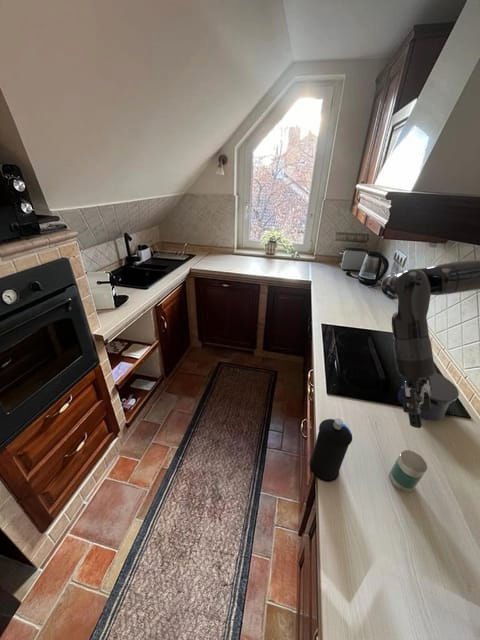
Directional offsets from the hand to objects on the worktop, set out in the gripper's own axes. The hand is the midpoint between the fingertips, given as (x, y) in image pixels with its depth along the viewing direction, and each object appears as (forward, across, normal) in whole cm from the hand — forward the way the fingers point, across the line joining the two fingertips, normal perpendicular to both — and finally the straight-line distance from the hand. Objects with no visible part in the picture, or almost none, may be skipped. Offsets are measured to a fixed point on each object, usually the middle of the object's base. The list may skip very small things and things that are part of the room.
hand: (421, 418), depth 62 cm
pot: (+15, +37, +10) cm, 41 cm away
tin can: (+22, +2, +7) cm, 23 cm away
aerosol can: (+16, -11, +23) cm, 30 cm away
